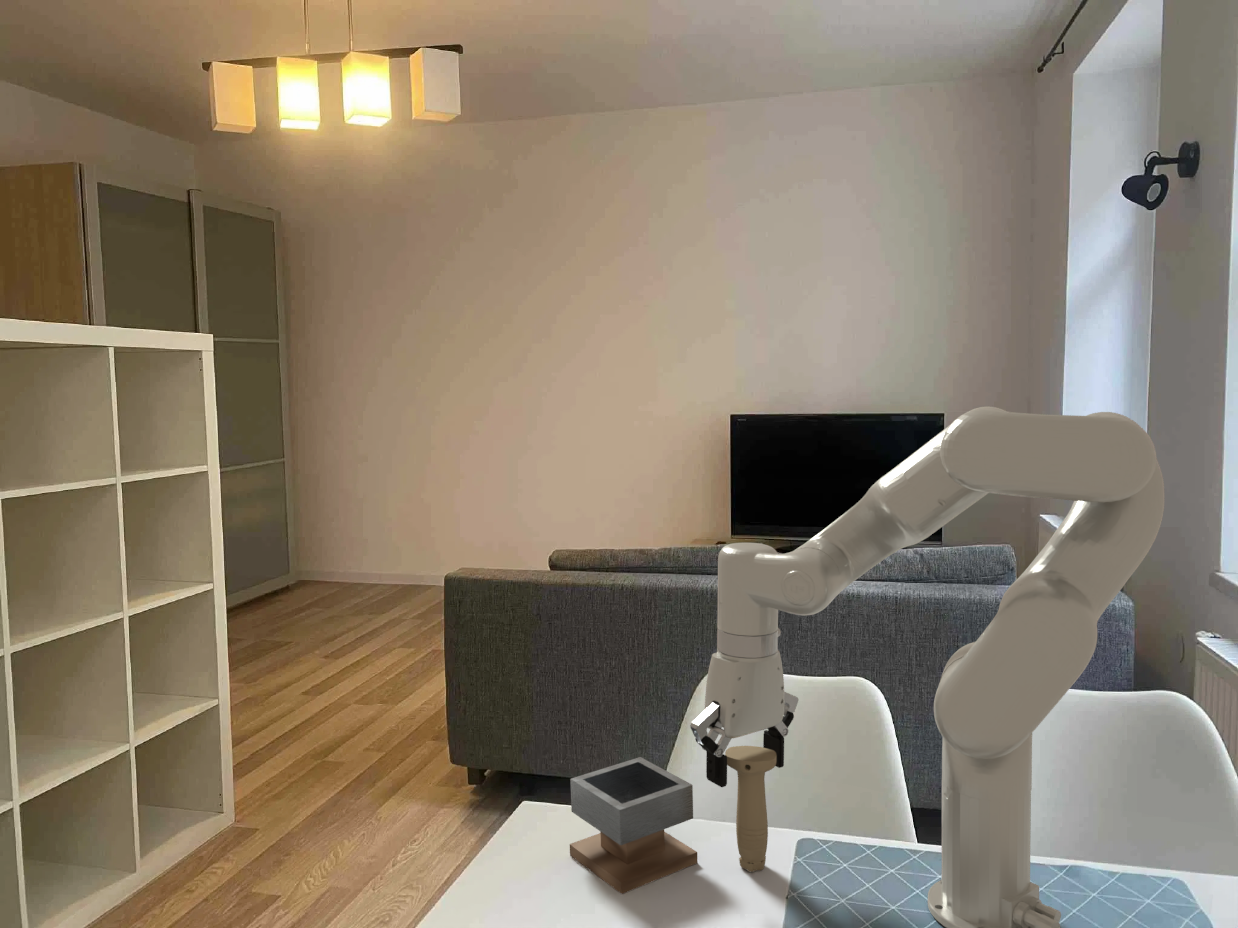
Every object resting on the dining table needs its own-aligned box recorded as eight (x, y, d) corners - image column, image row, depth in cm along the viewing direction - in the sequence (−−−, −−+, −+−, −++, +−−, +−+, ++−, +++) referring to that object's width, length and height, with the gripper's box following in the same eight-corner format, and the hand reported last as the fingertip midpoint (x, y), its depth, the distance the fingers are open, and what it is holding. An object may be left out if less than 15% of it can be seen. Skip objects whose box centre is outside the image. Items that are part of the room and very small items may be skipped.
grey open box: (693, 818, 121) (692, 784, 120) (620, 845, 114) (619, 809, 114) (641, 788, 130) (640, 756, 130) (571, 811, 123) (570, 778, 123)
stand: (697, 862, 121) (696, 818, 120) (621, 893, 114) (620, 846, 114) (642, 827, 131) (641, 786, 130) (569, 854, 124) (568, 811, 124)
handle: (775, 879, 117) (773, 763, 115) (724, 872, 118) (722, 758, 117) (780, 860, 121) (778, 748, 120) (731, 854, 123) (729, 743, 122)
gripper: (776, 624, 125) (774, 747, 127) (674, 646, 115) (673, 779, 117) (817, 637, 119) (815, 766, 121) (714, 662, 109) (712, 802, 111)
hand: (745, 773), depth 119 cm, fingers open, 9 cm apart
